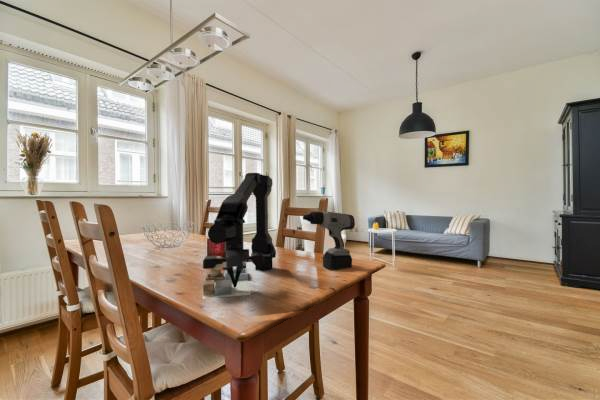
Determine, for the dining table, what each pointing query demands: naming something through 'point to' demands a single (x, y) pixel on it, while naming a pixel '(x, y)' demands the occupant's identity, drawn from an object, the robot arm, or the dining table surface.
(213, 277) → the dowel socket
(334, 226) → the cordless drill
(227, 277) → the parts tray
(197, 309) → the dining table surface
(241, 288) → the bench board
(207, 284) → the bench dog
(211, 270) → the oak dowel
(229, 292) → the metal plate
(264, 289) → the dining table surface
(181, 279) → the dining table surface
